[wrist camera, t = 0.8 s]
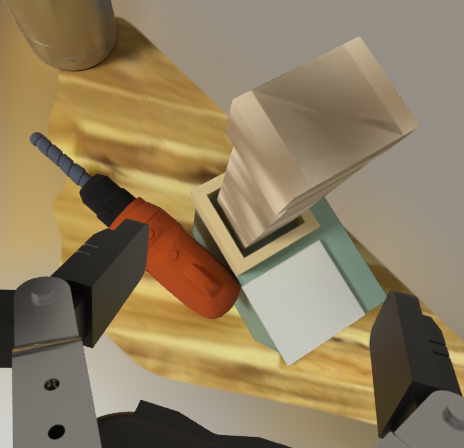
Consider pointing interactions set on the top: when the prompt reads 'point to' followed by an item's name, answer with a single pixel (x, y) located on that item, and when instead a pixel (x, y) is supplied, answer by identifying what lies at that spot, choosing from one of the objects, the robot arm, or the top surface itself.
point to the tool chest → (291, 275)
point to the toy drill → (155, 239)
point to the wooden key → (306, 138)
